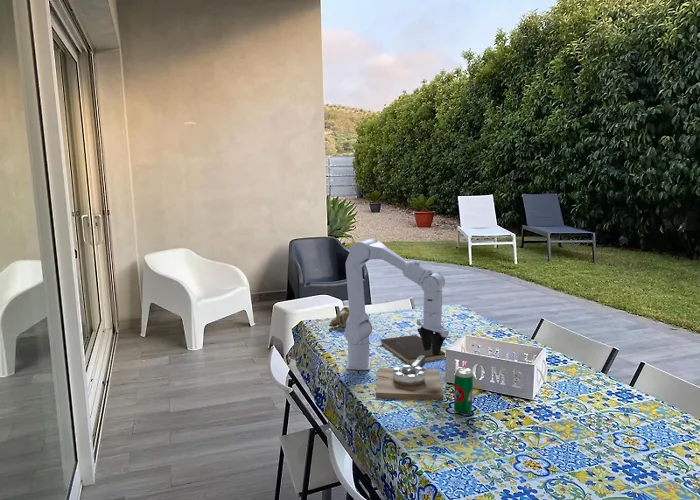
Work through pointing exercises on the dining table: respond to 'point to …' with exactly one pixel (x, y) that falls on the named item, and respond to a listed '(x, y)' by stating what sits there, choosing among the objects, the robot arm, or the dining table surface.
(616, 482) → the dining table surface
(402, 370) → the silver mechanical part
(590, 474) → the dining table surface
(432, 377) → the walnut board
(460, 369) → the soda can
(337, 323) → the ceramic sculpture
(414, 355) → the hardcover book
